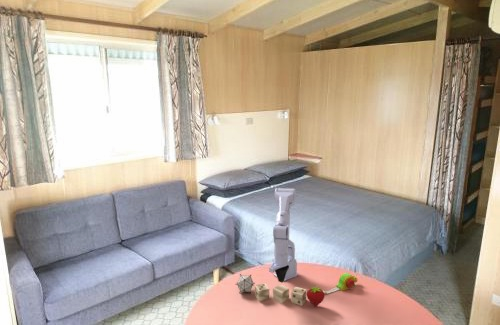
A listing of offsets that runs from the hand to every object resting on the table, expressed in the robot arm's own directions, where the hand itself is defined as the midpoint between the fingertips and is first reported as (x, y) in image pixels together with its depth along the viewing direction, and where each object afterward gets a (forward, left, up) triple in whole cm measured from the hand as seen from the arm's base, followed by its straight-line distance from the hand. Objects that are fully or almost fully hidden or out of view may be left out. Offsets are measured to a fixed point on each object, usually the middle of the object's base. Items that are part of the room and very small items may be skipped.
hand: (281, 281), depth 150 cm
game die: (+9, -14, -8) cm, 19 cm away
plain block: (0, 0, -8) cm, 8 cm away
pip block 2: (-5, +6, -8) cm, 11 cm away
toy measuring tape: (-27, +10, -9) cm, 30 cm away
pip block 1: (+6, -6, -8) cm, 12 cm away
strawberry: (-8, +13, -8) cm, 17 cm away
